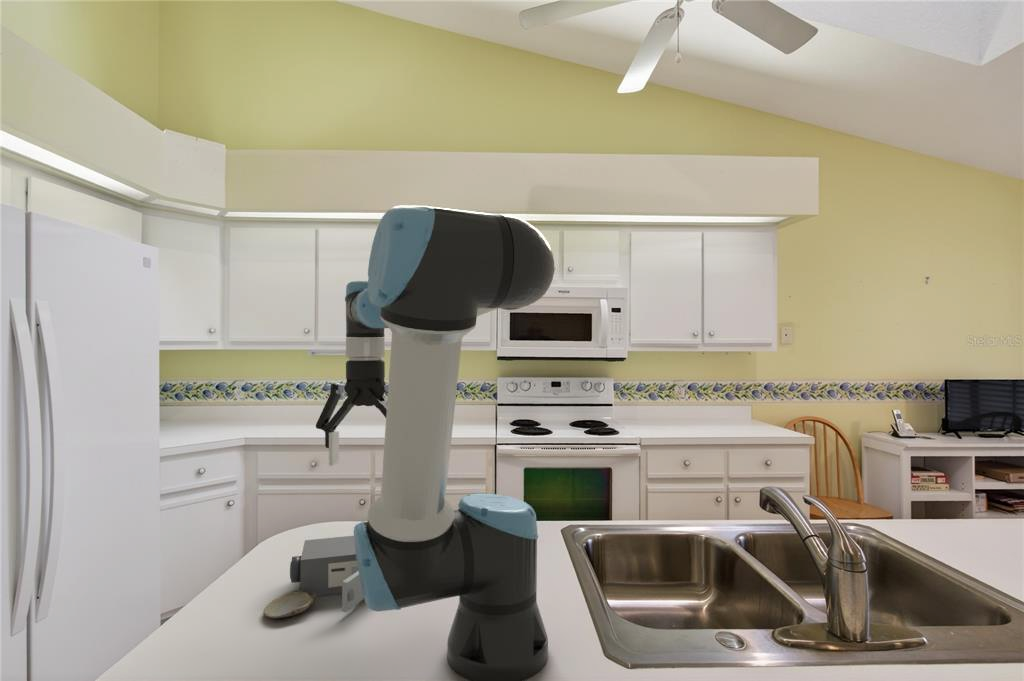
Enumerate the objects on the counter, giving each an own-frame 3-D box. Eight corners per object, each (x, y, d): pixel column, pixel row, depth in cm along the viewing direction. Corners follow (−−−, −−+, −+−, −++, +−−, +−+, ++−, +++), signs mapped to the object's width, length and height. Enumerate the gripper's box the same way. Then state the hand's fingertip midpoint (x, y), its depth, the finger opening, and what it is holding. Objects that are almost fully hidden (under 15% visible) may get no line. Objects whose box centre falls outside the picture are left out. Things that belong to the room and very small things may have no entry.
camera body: (390, 587, 104) (390, 547, 104) (288, 600, 99) (288, 557, 99) (387, 566, 113) (387, 529, 113) (293, 576, 108) (293, 537, 108)
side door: (383, 585, 102) (383, 558, 102) (349, 612, 92) (349, 583, 92) (376, 584, 103) (376, 557, 103) (341, 611, 93) (341, 581, 93)
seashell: (277, 612, 98) (254, 625, 90) (276, 594, 99) (254, 605, 91) (322, 605, 98) (303, 617, 90) (321, 587, 99) (302, 597, 91)
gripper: (431, 358, 111) (431, 463, 111) (317, 358, 115) (317, 459, 115) (418, 359, 104) (418, 471, 103) (297, 359, 108) (297, 467, 108)
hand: (365, 465), depth 109 cm, fingers open, 13 cm apart
